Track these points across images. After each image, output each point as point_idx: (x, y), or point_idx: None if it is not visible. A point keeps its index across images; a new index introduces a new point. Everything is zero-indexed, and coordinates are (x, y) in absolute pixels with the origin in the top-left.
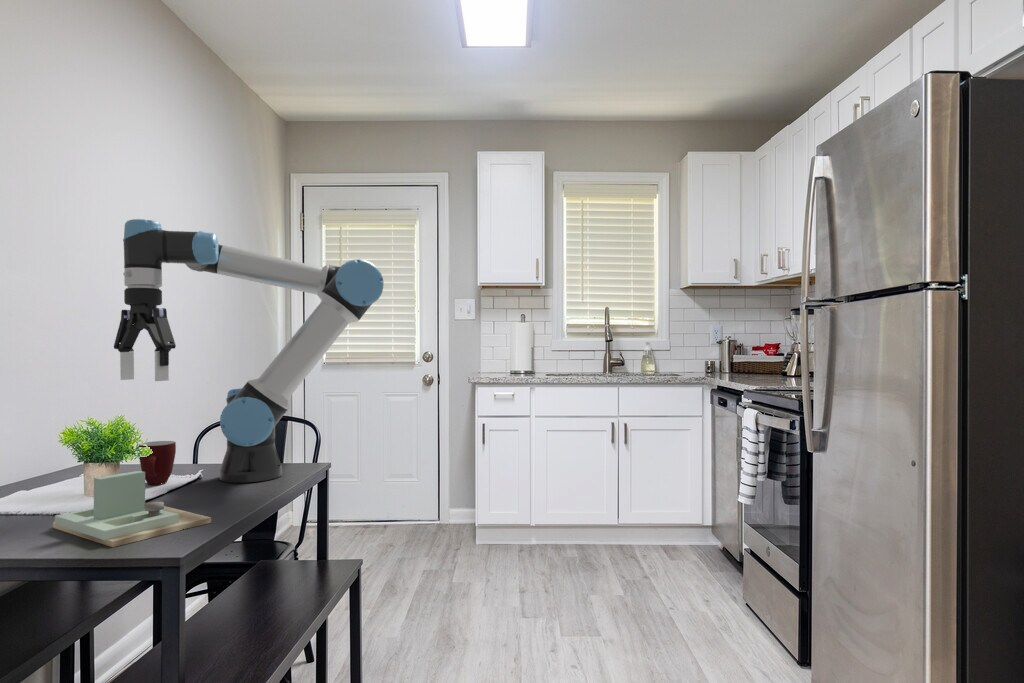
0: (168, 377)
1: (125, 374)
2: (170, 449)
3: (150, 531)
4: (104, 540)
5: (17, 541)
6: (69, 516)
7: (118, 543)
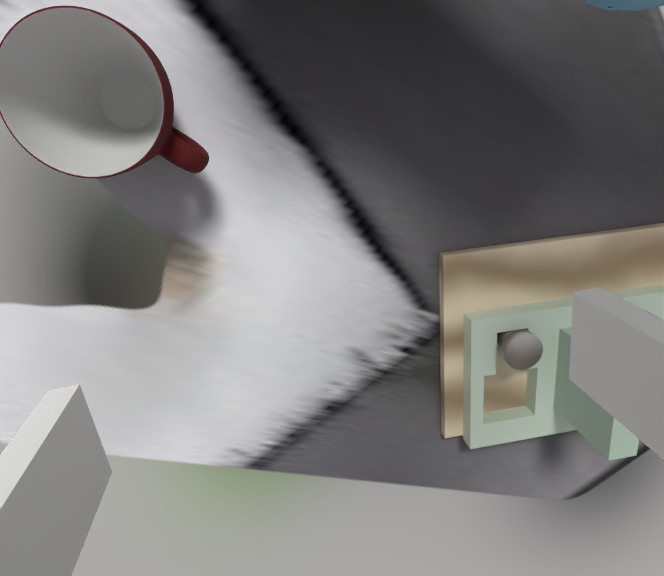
0: (617, 297)
1: (86, 483)
2: (161, 68)
3: None
4: None
5: (482, 482)
6: (500, 433)
7: None
